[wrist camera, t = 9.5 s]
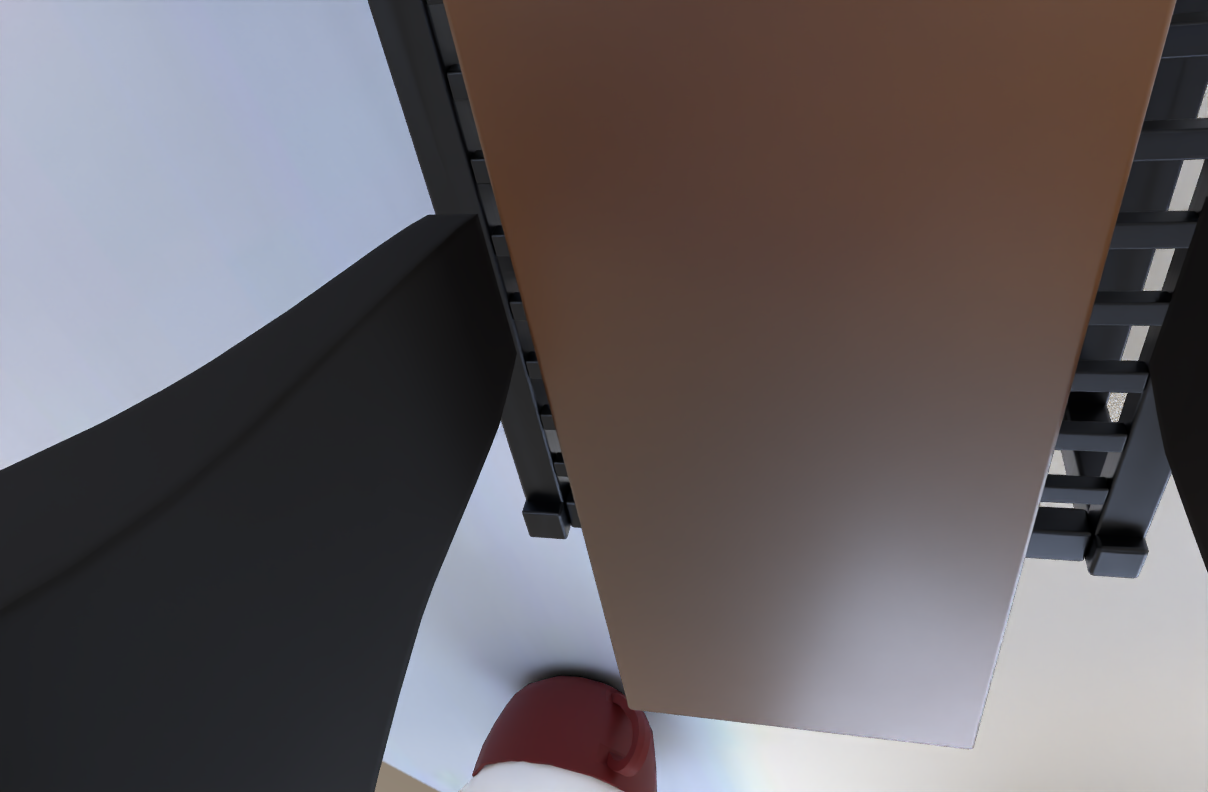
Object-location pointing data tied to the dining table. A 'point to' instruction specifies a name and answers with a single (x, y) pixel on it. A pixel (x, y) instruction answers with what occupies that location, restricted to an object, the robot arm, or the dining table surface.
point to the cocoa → (567, 742)
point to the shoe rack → (1087, 436)
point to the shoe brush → (809, 320)
